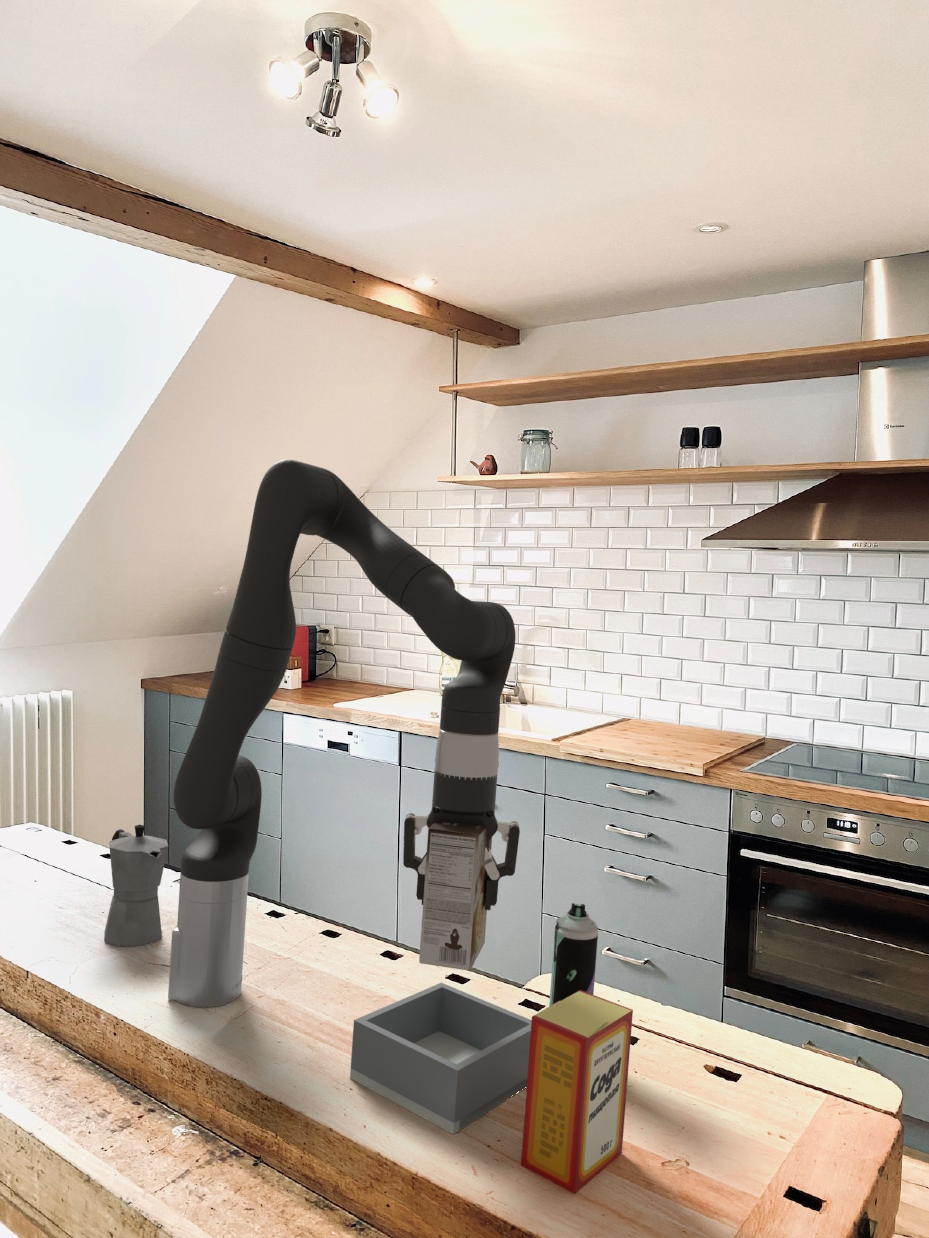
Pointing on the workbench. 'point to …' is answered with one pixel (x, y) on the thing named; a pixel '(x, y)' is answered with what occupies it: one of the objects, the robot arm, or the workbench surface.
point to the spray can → (573, 954)
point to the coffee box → (454, 895)
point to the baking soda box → (576, 1089)
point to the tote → (442, 1055)
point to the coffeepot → (135, 888)
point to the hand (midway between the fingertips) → (456, 905)
